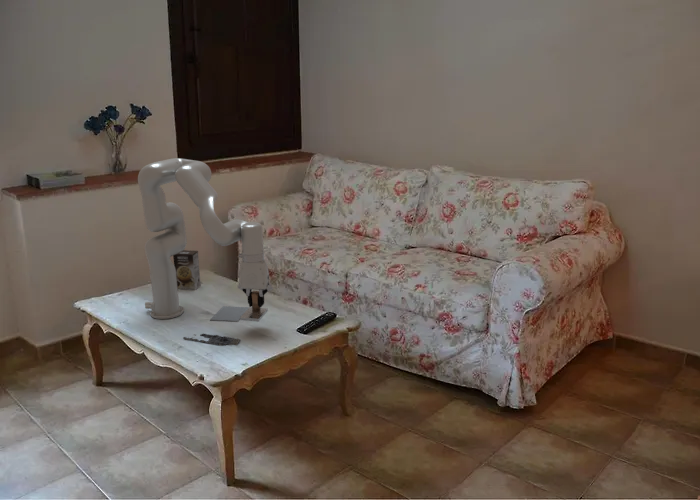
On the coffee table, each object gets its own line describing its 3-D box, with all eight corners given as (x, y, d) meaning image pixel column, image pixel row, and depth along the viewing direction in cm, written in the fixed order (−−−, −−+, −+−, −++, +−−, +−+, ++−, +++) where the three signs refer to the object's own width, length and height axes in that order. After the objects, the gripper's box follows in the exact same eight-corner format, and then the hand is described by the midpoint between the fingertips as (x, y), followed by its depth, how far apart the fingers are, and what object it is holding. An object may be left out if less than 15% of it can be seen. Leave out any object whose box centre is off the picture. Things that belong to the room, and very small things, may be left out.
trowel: (240, 320, 228) (238, 299, 226) (249, 309, 238) (248, 289, 235) (258, 321, 227) (257, 300, 225) (267, 310, 236) (266, 290, 234)
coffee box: (175, 289, 279) (172, 253, 275) (181, 284, 286) (178, 249, 281) (195, 290, 278) (192, 254, 273) (201, 285, 284) (198, 250, 280)
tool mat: (210, 320, 245) (210, 319, 245) (223, 307, 258) (223, 306, 258) (237, 321, 243) (237, 320, 243) (249, 308, 256) (249, 307, 256)
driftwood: (243, 342, 226) (243, 336, 226) (233, 350, 221) (232, 344, 220) (194, 334, 235) (194, 329, 234) (183, 341, 229) (182, 336, 228)
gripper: (227, 259, 227) (231, 308, 232) (272, 261, 224) (275, 310, 229) (235, 253, 234) (238, 300, 239) (278, 255, 231) (281, 303, 236)
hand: (256, 305), depth 234 cm, fingers closed on trowel, 3 cm apart
